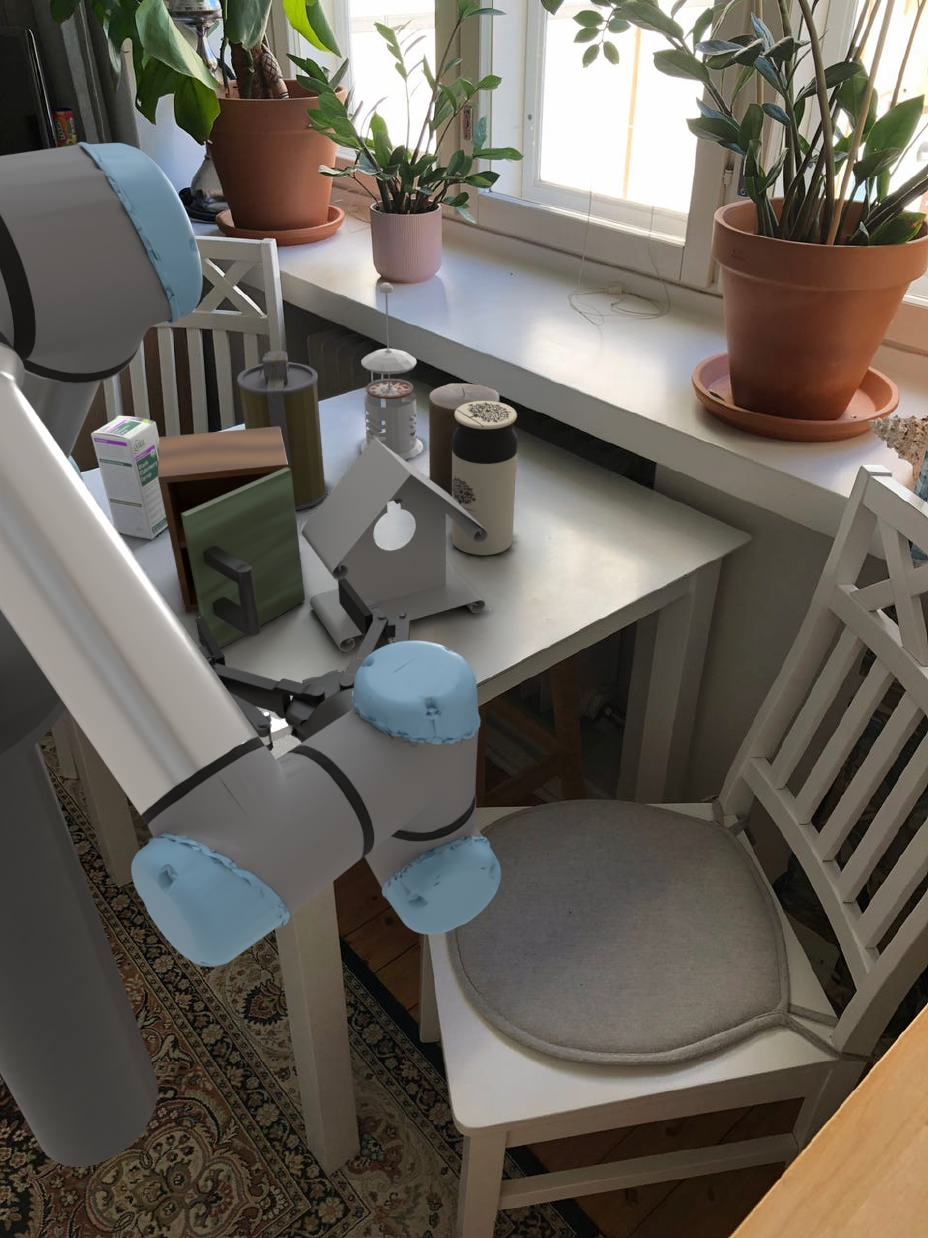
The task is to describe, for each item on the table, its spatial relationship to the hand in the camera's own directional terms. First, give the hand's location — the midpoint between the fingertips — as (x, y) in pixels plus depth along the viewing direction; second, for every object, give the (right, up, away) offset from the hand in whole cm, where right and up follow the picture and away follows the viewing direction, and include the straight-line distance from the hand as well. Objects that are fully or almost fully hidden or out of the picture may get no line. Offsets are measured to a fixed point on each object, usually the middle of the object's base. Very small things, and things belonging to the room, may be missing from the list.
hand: (273, 609), depth 86 cm
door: (-4, -3, +18) cm, 19 cm away
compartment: (-9, +4, +27) cm, 29 cm away
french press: (+6, +26, +59) cm, 65 cm away
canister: (-7, +17, +45) cm, 49 cm away
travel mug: (+20, +9, +36) cm, 42 cm away
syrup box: (-25, +11, +38) cm, 47 cm away
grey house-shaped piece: (+10, 0, +23) cm, 25 cm away
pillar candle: (+18, +18, +48) cm, 54 cm away
